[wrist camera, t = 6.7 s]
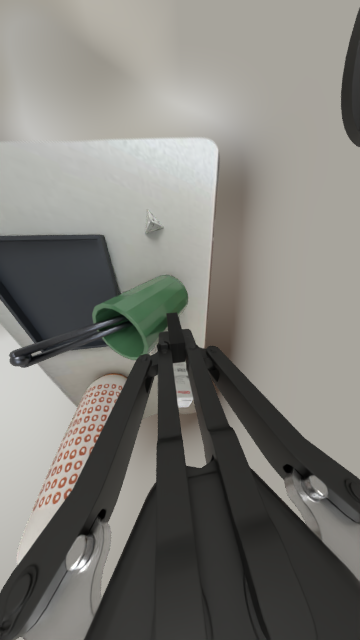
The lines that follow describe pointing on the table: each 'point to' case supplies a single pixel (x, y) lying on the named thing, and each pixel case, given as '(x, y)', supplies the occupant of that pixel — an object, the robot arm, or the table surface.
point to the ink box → (182, 385)
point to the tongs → (25, 358)
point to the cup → (142, 315)
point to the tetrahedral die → (152, 223)
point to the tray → (55, 283)
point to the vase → (72, 455)
